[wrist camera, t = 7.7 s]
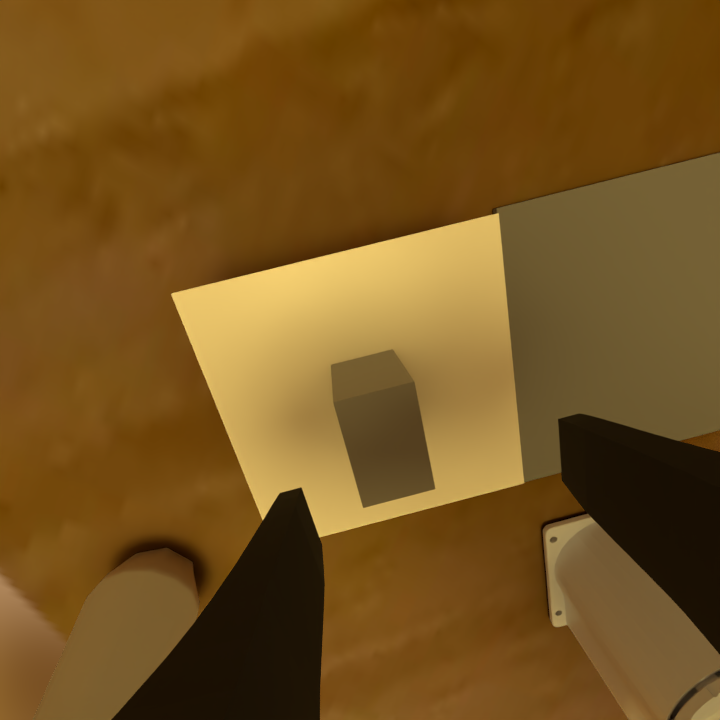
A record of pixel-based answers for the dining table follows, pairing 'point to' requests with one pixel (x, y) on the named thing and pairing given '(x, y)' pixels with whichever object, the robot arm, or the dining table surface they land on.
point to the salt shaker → (122, 636)
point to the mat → (616, 306)
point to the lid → (367, 374)
